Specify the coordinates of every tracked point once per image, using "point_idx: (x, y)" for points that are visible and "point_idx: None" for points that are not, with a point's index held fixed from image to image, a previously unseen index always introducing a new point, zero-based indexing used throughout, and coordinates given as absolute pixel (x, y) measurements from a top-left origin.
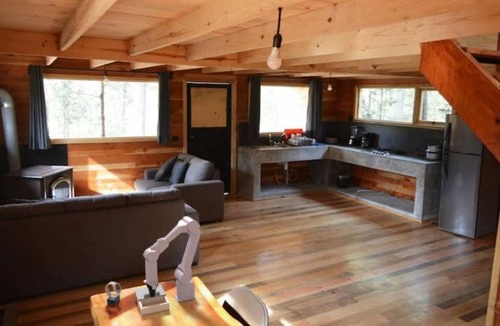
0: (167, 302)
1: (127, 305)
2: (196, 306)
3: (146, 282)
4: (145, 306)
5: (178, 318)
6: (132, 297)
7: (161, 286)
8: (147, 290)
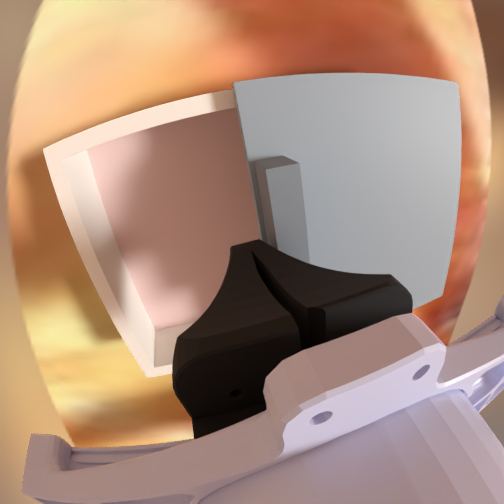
0: (155, 368)
1: (300, 9)
2: (186, 427)
3: (264, 434)
4: (220, 157)
5: (64, 370)
6: (410, 68)
7: (416, 305)
8: (412, 197)
